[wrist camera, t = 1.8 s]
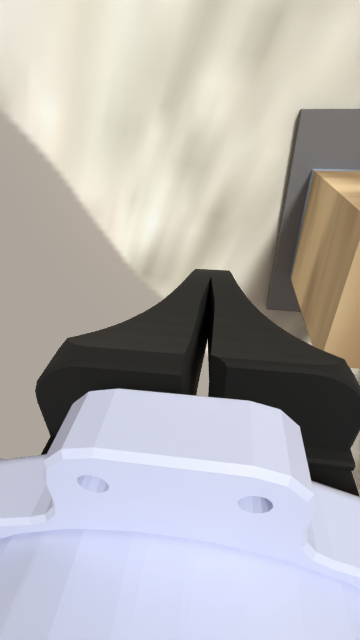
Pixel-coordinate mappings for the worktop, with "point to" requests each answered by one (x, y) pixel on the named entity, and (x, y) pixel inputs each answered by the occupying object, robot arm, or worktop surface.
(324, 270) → the oak block
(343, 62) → the worktop surface
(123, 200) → the worktop surface
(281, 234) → the grey flat rectangular piece
